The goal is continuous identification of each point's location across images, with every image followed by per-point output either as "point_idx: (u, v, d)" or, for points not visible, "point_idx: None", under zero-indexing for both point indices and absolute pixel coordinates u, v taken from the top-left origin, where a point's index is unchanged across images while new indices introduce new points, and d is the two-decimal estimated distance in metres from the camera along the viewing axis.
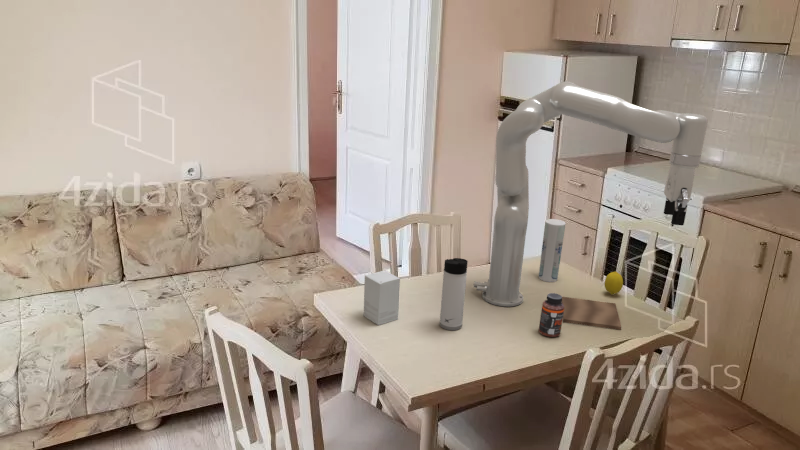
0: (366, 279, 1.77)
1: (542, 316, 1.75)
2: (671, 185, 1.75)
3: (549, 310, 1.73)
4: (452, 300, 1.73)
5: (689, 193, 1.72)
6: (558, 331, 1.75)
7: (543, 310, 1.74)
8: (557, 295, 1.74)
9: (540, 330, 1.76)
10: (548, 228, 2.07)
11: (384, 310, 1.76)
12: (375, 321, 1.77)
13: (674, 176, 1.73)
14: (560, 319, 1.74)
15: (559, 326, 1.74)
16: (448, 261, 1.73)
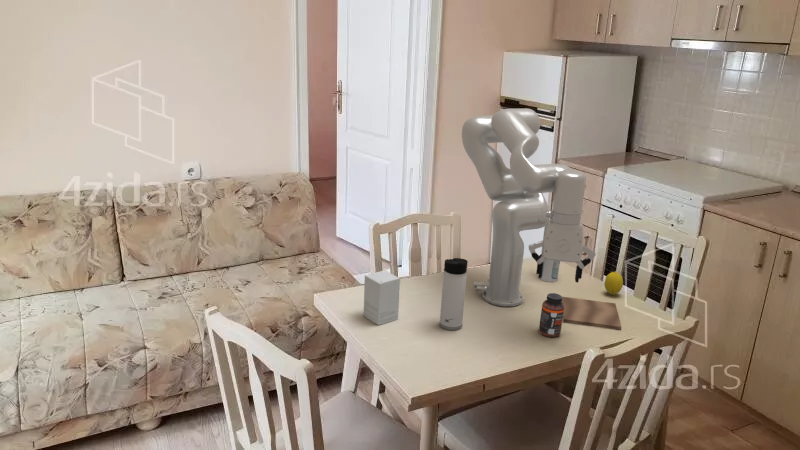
0: (366, 279, 1.77)
1: (542, 316, 1.75)
2: (572, 247, 1.66)
3: (549, 310, 1.73)
4: (452, 300, 1.73)
5: None
6: (558, 331, 1.75)
7: (543, 310, 1.74)
8: (557, 295, 1.74)
9: (540, 330, 1.76)
10: None
11: (384, 310, 1.76)
12: (375, 321, 1.77)
13: (578, 237, 1.65)
14: (560, 319, 1.74)
15: (559, 326, 1.74)
16: (448, 261, 1.73)
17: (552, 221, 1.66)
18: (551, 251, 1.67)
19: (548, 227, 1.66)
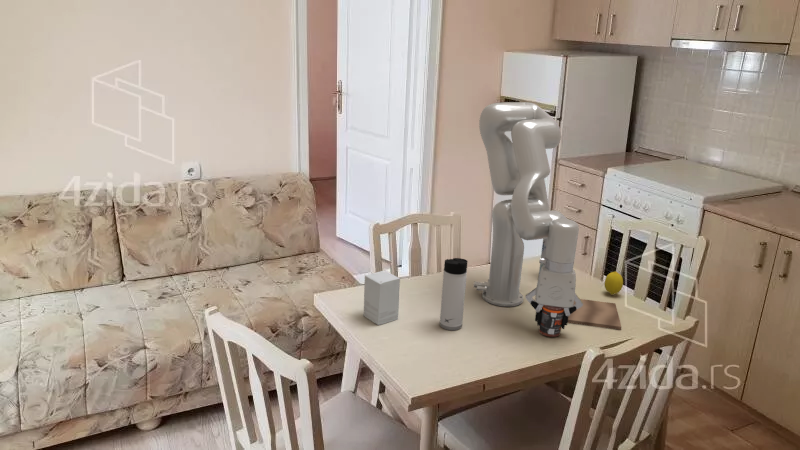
0: (366, 279, 1.77)
1: (542, 316, 1.75)
2: (565, 293, 1.70)
3: (549, 310, 1.73)
4: (452, 300, 1.73)
5: None
6: (558, 331, 1.75)
7: (543, 310, 1.74)
8: None
9: (540, 330, 1.76)
10: None
11: (384, 310, 1.76)
12: (375, 321, 1.77)
13: (570, 284, 1.69)
14: (560, 319, 1.74)
15: (559, 326, 1.74)
16: (448, 261, 1.73)
17: (545, 268, 1.70)
18: (544, 297, 1.72)
19: (541, 273, 1.71)
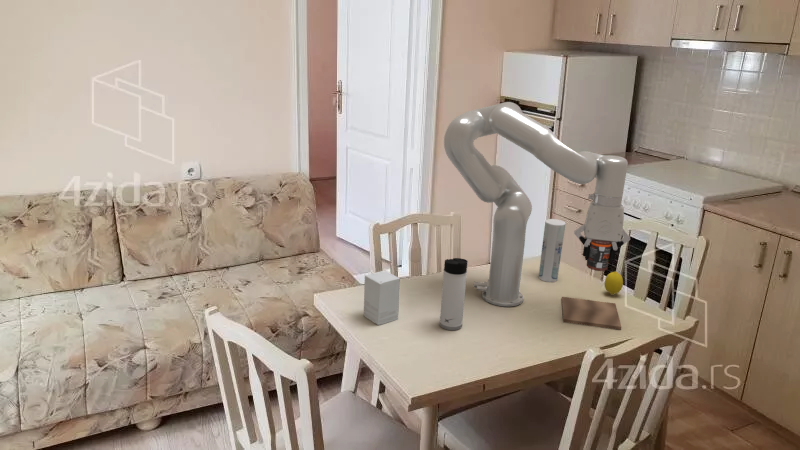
0: (366, 279, 1.77)
1: (590, 251, 1.83)
2: (613, 227, 1.78)
3: (598, 244, 1.80)
4: (452, 300, 1.73)
5: None
6: (606, 265, 1.82)
7: (591, 245, 1.82)
8: None
9: (588, 265, 1.84)
10: (548, 228, 2.07)
11: (384, 310, 1.76)
12: (375, 321, 1.77)
13: (619, 218, 1.77)
14: (608, 253, 1.81)
15: (607, 260, 1.82)
16: (448, 261, 1.73)
17: (595, 203, 1.78)
18: (593, 231, 1.80)
19: (590, 208, 1.79)
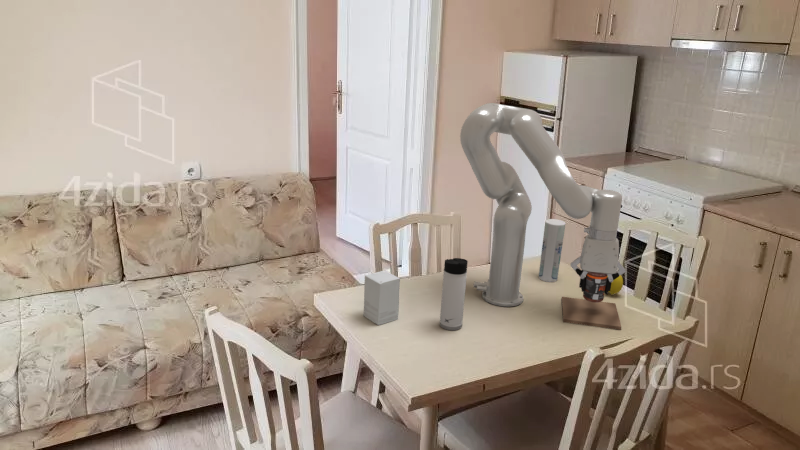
0: (366, 279, 1.77)
1: (586, 283, 1.86)
2: (609, 260, 1.81)
3: (594, 276, 1.84)
4: (452, 300, 1.73)
5: None
6: (602, 296, 1.86)
7: (587, 277, 1.85)
8: None
9: (584, 296, 1.87)
10: (548, 228, 2.07)
11: (384, 310, 1.76)
12: (375, 321, 1.77)
13: (614, 251, 1.80)
14: (604, 285, 1.85)
15: (603, 292, 1.85)
16: (448, 261, 1.73)
17: (590, 236, 1.82)
18: (589, 264, 1.83)
19: (586, 242, 1.82)
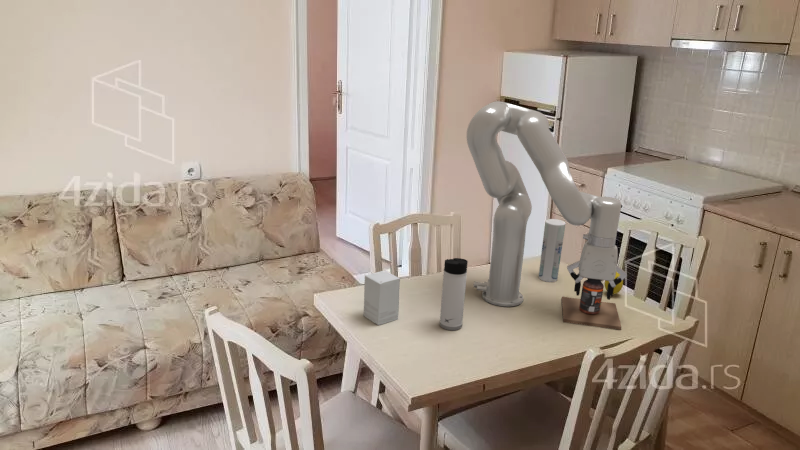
0: (366, 279, 1.77)
1: (583, 295, 1.87)
2: (607, 267, 1.82)
3: (590, 289, 1.85)
4: (452, 300, 1.73)
5: None
6: (598, 309, 1.87)
7: (584, 289, 1.87)
8: None
9: (581, 308, 1.89)
10: (548, 228, 2.07)
11: (384, 310, 1.76)
12: (375, 321, 1.77)
13: (613, 258, 1.81)
14: (600, 297, 1.86)
15: (599, 304, 1.87)
16: (448, 261, 1.73)
17: (589, 243, 1.82)
18: (588, 270, 1.83)
19: (585, 248, 1.82)
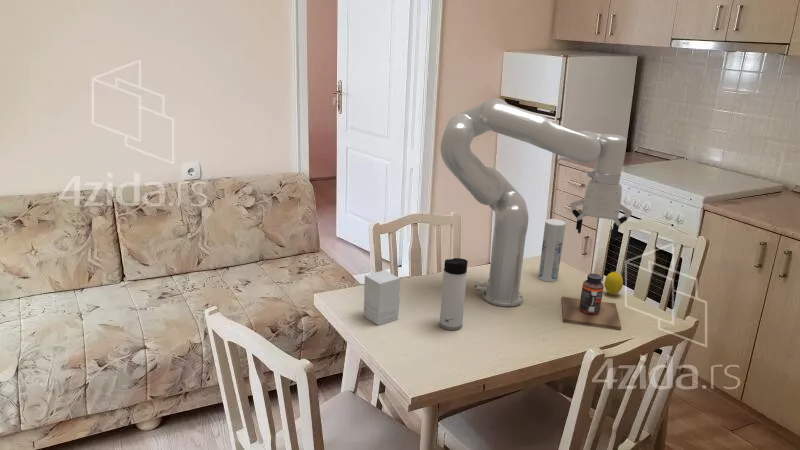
0: (366, 279, 1.77)
1: (583, 295, 1.87)
2: (611, 205, 1.81)
3: (590, 289, 1.85)
4: (452, 300, 1.73)
5: None
6: (598, 309, 1.87)
7: (584, 289, 1.87)
8: (597, 275, 1.87)
9: (581, 308, 1.89)
10: (548, 228, 2.07)
11: (384, 310, 1.76)
12: (375, 321, 1.77)
13: (616, 196, 1.80)
14: (600, 297, 1.86)
15: (599, 304, 1.87)
16: (448, 261, 1.73)
17: (593, 180, 1.82)
18: (591, 208, 1.83)
19: (589, 186, 1.82)
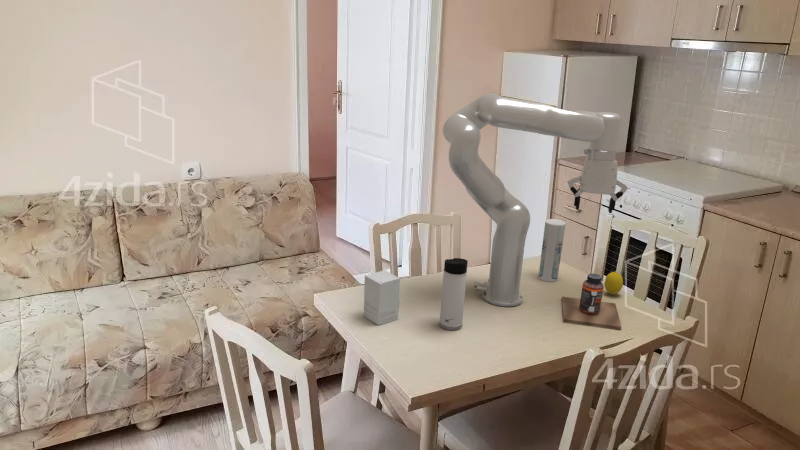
0: (366, 279, 1.77)
1: (583, 295, 1.87)
2: (607, 180, 1.87)
3: (590, 289, 1.85)
4: (452, 300, 1.73)
5: None
6: (598, 309, 1.87)
7: (584, 289, 1.87)
8: (597, 275, 1.87)
9: (581, 308, 1.89)
10: (548, 228, 2.07)
11: (384, 310, 1.76)
12: (375, 321, 1.77)
13: (613, 171, 1.87)
14: (600, 297, 1.86)
15: (599, 304, 1.87)
16: (448, 261, 1.73)
17: (590, 157, 1.88)
18: (588, 184, 1.89)
19: (586, 163, 1.88)
